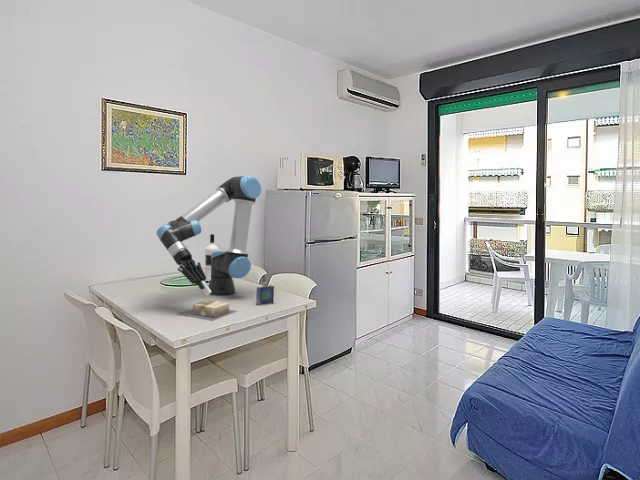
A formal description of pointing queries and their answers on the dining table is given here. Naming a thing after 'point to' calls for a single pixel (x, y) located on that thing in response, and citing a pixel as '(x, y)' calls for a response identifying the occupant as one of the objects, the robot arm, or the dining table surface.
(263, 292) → the flask
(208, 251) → the vodka
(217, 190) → the robot arm
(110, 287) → the dining table surface
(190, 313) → the mat
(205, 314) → the wooden block
